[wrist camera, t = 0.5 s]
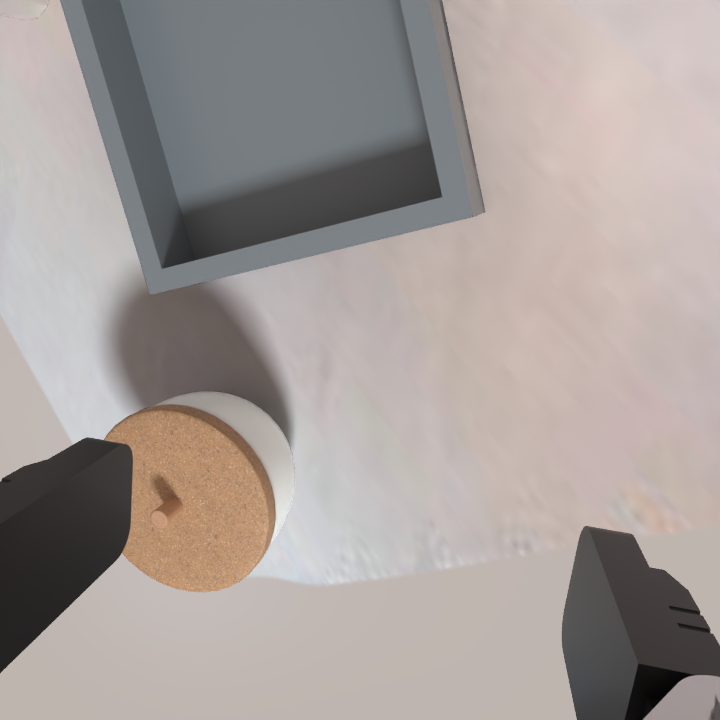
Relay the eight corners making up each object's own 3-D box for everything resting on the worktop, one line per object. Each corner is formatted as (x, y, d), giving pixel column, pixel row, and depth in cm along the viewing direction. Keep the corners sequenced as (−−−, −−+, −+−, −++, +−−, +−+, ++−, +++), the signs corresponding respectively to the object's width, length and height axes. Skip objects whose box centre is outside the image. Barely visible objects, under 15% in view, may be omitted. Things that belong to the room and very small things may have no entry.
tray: (90, -69, 37) (29, -100, 33) (397, -218, 31) (370, -280, 27) (193, 283, 41) (150, 295, 37) (485, 212, 35) (473, 216, 30)
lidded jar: (255, 556, 45) (179, 647, 36) (141, 444, 45) (38, 508, 36) (354, 456, 40) (295, 531, 32) (228, 334, 41) (136, 376, 32)
